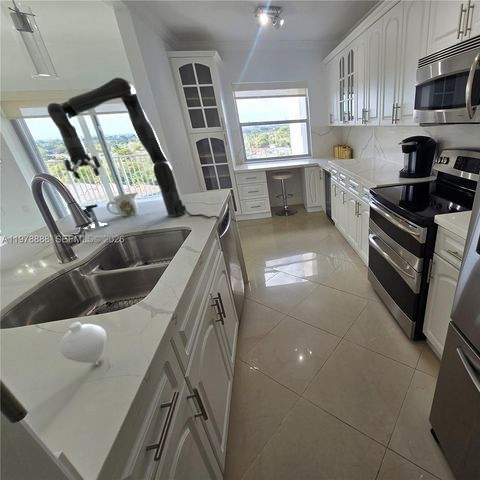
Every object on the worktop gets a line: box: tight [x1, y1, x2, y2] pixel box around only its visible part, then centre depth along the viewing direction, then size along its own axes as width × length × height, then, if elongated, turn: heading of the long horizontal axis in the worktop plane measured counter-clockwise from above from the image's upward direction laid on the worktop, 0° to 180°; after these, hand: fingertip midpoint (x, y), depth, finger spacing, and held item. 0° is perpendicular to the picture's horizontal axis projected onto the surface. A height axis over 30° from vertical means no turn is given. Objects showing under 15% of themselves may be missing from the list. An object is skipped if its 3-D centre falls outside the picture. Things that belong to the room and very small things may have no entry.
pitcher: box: [106, 192, 139, 217], centre depth 164 cm, size 11×18×14 cm, turn 126°
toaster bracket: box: [85, 208, 107, 231], centre depth 148 cm, size 12×9×12 cm
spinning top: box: [59, 321, 107, 366], centre depth 57 cm, size 8×8×12 cm
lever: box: [84, 203, 99, 212], centre depth 143 cm, size 12×5×2 cm, turn 61°
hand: (88, 177), depth 141 cm, fingers open, 8 cm apart
